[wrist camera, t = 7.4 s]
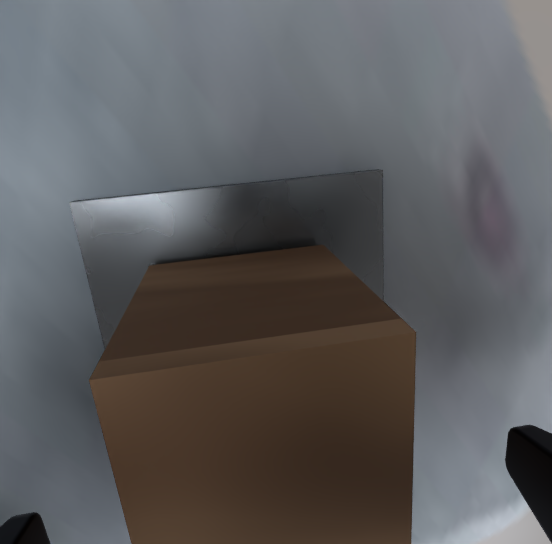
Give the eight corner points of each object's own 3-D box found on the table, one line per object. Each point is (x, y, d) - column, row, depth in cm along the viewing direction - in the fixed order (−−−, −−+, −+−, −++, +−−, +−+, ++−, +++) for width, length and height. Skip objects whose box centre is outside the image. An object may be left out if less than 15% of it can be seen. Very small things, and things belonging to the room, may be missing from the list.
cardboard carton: (330, 390, 15) (410, 562, 9) (177, 415, 15) (151, 616, 8) (323, 244, 14) (415, 332, 7) (149, 265, 13) (89, 380, 7)
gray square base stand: (380, 415, 17) (484, 585, 11) (134, 456, 16) (79, 676, 10) (378, 169, 14) (523, 193, 7) (73, 201, 13) (-74, 262, 6)
